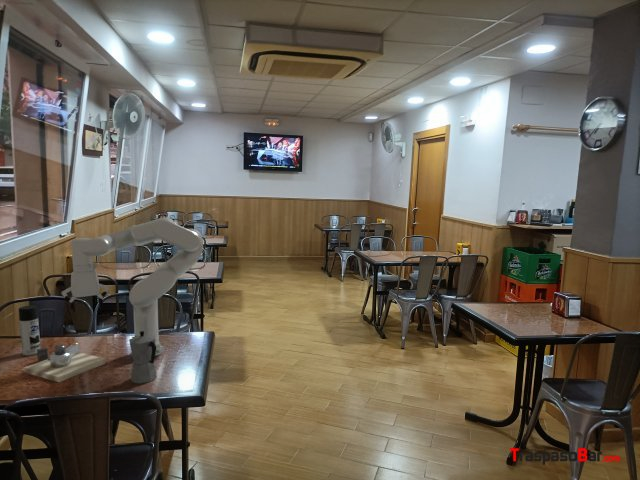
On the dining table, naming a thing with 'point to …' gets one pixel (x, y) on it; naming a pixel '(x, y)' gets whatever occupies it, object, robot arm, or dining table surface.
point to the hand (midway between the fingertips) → (87, 309)
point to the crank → (63, 354)
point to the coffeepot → (143, 358)
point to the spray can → (29, 330)
